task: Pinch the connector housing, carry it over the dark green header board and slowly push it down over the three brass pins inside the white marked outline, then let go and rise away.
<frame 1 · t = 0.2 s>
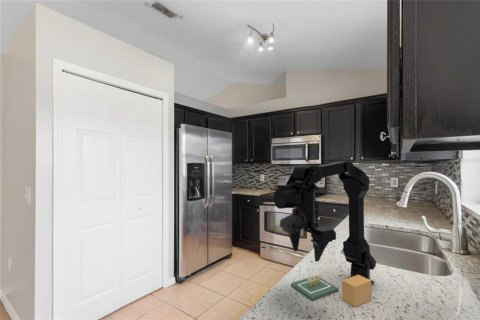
hand: (305, 255, 72), 14 cm above the counter, fingers open, 9 cm apart
header board: (314, 288, 79), on the counter
connector housing: (356, 299, 73), on the counter
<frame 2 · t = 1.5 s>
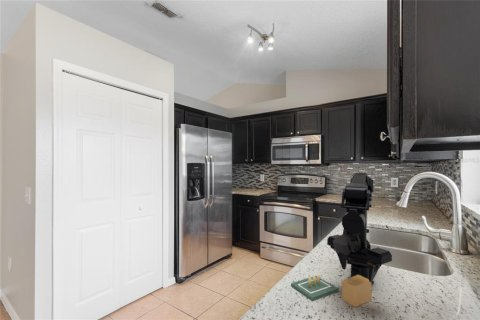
hand: (356, 275, 73), 8 cm above the counter, fingers open, 9 cm apart
nothing on the counter moved.
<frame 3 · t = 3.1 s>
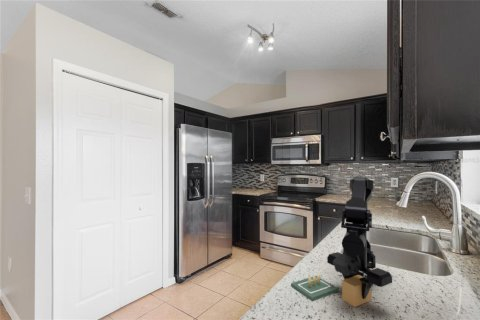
hand: (356, 294, 73), 2 cm above the counter, fingers closed on connector housing, 4 cm apart
connector housing: (356, 299, 73), on the counter, touching gripper
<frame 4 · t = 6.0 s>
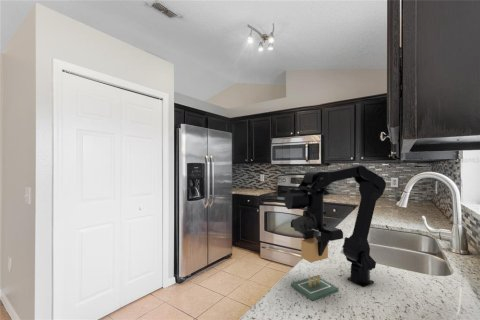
hand: (314, 253, 79), 12 cm above the counter, fingers closed on connector housing, 4 cm apart
connector housing: (314, 257, 79), point 11 cm above the counter, touching gripper
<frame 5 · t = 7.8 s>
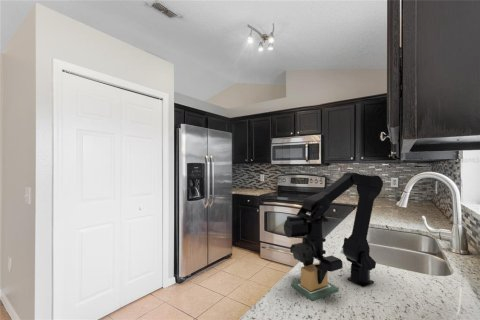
hand: (314, 280, 79), 3 cm above the counter, fingers closed on connector housing, 4 cm apart
connector housing: (314, 285, 79), point 1 cm above the counter, touching gripper
when the fingers open (3 cm above the counter, at t = 8.8 s): connector housing stays where it is, resting on header board.
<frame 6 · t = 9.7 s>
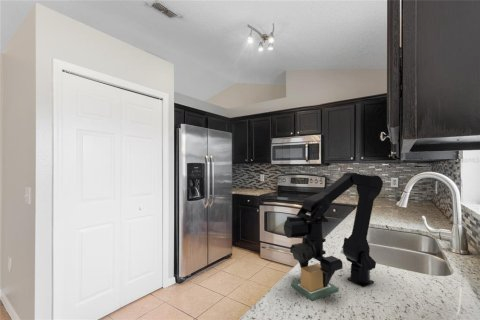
hand: (314, 280, 79), 3 cm above the counter, fingers open, 9 cm apart
connector housing: (314, 285, 79), point 1 cm above the counter, touching header board
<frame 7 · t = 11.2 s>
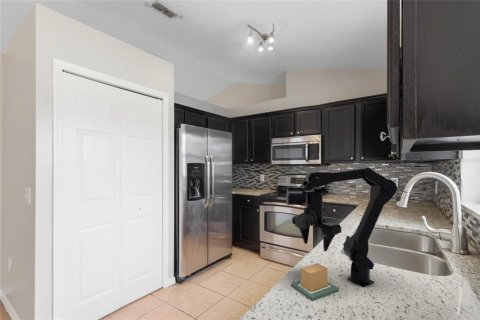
hand: (315, 247, 86), 12 cm above the counter, fingers open, 9 cm apart
nothing on the counter moved.
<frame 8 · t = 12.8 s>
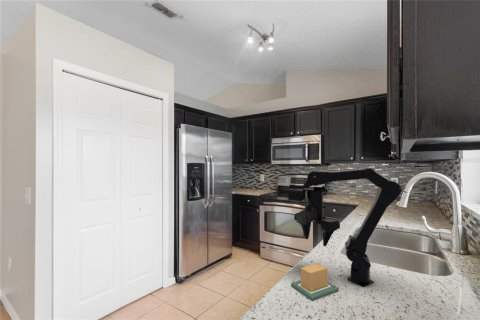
hand: (315, 242, 91), 12 cm above the counter, fingers open, 9 cm apart
nothing on the counter moved.
at the end: connector housing 0.0 cm off-centre on the header board, point 1.0 cm above the header board's base; connector housing tilted 0°; the gripper is holding nothing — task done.
